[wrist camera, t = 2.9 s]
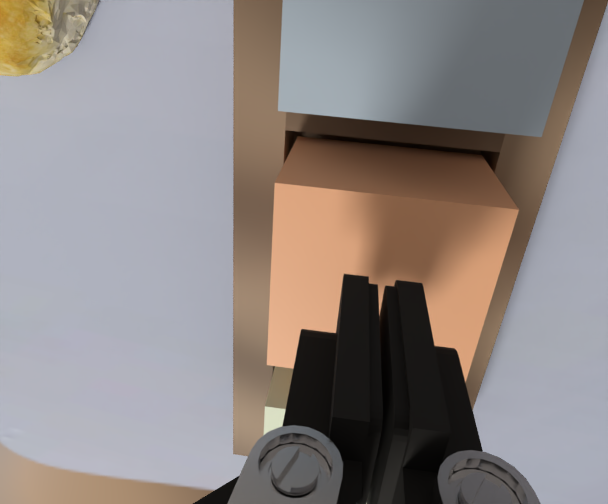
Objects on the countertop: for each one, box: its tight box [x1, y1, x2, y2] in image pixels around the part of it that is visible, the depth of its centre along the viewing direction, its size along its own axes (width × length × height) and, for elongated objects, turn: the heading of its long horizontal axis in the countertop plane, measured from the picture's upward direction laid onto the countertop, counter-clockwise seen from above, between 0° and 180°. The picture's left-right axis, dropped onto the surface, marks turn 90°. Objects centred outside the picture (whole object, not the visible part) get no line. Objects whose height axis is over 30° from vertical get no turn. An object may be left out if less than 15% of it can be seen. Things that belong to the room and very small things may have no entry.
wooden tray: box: [233, 0, 608, 456], centre depth 16 cm, size 22×9×3 cm, turn 176°
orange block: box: [267, 136, 519, 383], centre depth 14 cm, size 5×5×4 cm
